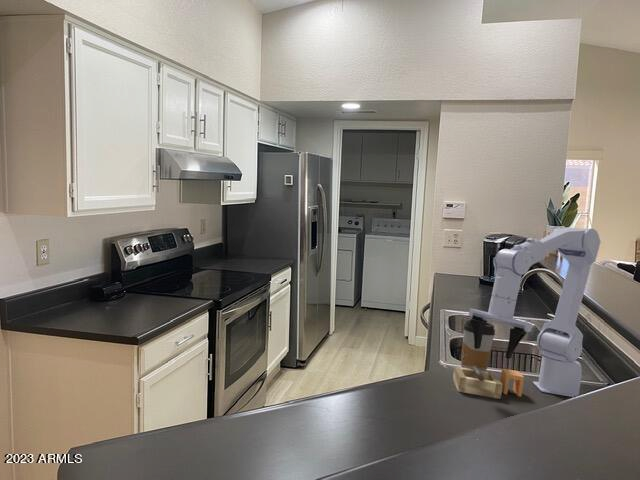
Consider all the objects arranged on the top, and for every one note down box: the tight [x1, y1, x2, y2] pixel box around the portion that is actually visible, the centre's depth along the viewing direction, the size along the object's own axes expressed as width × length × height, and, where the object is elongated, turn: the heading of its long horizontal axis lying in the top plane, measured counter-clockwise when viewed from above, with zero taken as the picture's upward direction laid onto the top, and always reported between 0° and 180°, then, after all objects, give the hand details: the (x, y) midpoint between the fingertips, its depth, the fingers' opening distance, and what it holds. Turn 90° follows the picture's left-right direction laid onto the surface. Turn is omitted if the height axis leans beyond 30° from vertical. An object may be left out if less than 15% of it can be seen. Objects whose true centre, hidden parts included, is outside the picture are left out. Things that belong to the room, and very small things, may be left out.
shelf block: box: [452, 365, 503, 399], centre depth 119 cm, size 10×10×5 cm
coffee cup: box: [460, 319, 496, 372], centre depth 129 cm, size 8×8×15 cm
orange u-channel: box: [499, 368, 525, 397], centre depth 121 cm, size 4×5×5 cm
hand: (492, 353), depth 114 cm, fingers open, 7 cm apart
